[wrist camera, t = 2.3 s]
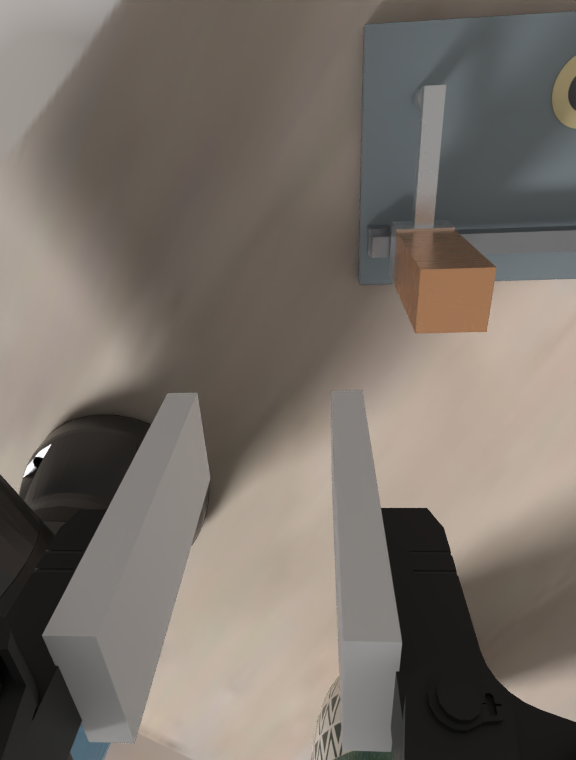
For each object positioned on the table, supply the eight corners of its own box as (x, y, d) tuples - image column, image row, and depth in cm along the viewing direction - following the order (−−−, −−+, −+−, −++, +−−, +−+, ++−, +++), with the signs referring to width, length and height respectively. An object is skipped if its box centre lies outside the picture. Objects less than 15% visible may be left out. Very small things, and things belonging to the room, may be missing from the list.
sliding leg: (384, 263, 32) (415, 335, 22) (392, 89, 27) (436, 80, 17) (433, 261, 31) (486, 333, 22) (449, 86, 27) (526, 75, 17)
